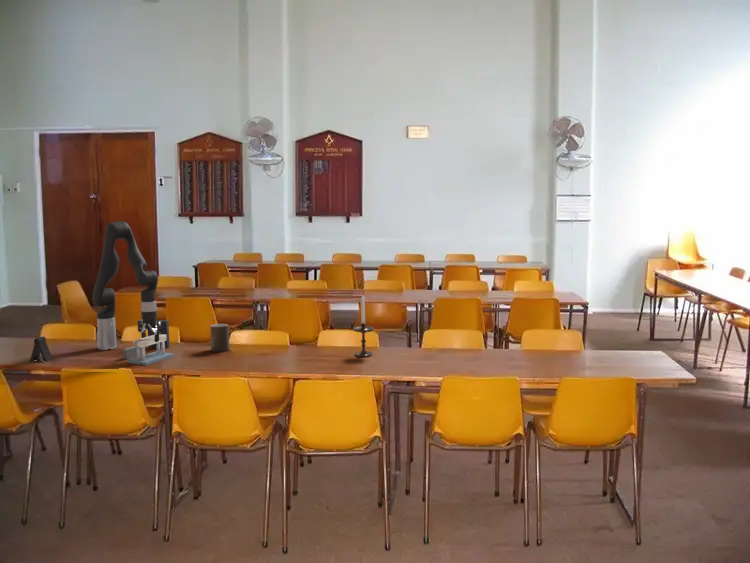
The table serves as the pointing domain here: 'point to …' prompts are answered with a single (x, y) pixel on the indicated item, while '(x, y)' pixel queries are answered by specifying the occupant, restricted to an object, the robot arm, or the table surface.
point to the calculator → (164, 331)
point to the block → (130, 352)
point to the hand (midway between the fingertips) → (150, 341)
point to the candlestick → (363, 330)
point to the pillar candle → (219, 337)
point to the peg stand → (151, 356)
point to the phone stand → (40, 350)
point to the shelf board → (148, 341)
